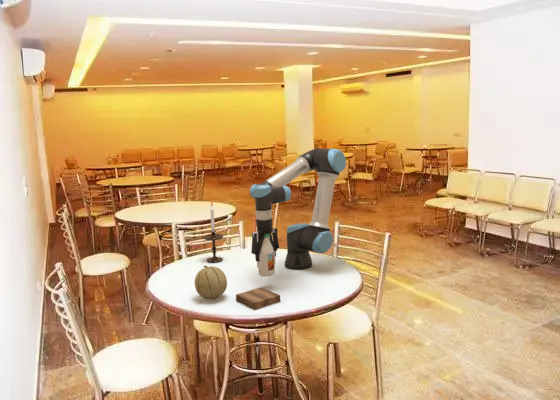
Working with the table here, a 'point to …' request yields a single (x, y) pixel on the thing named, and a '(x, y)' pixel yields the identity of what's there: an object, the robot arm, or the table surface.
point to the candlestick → (213, 239)
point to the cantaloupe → (210, 282)
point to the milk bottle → (267, 258)
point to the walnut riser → (258, 298)
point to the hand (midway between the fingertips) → (266, 265)
